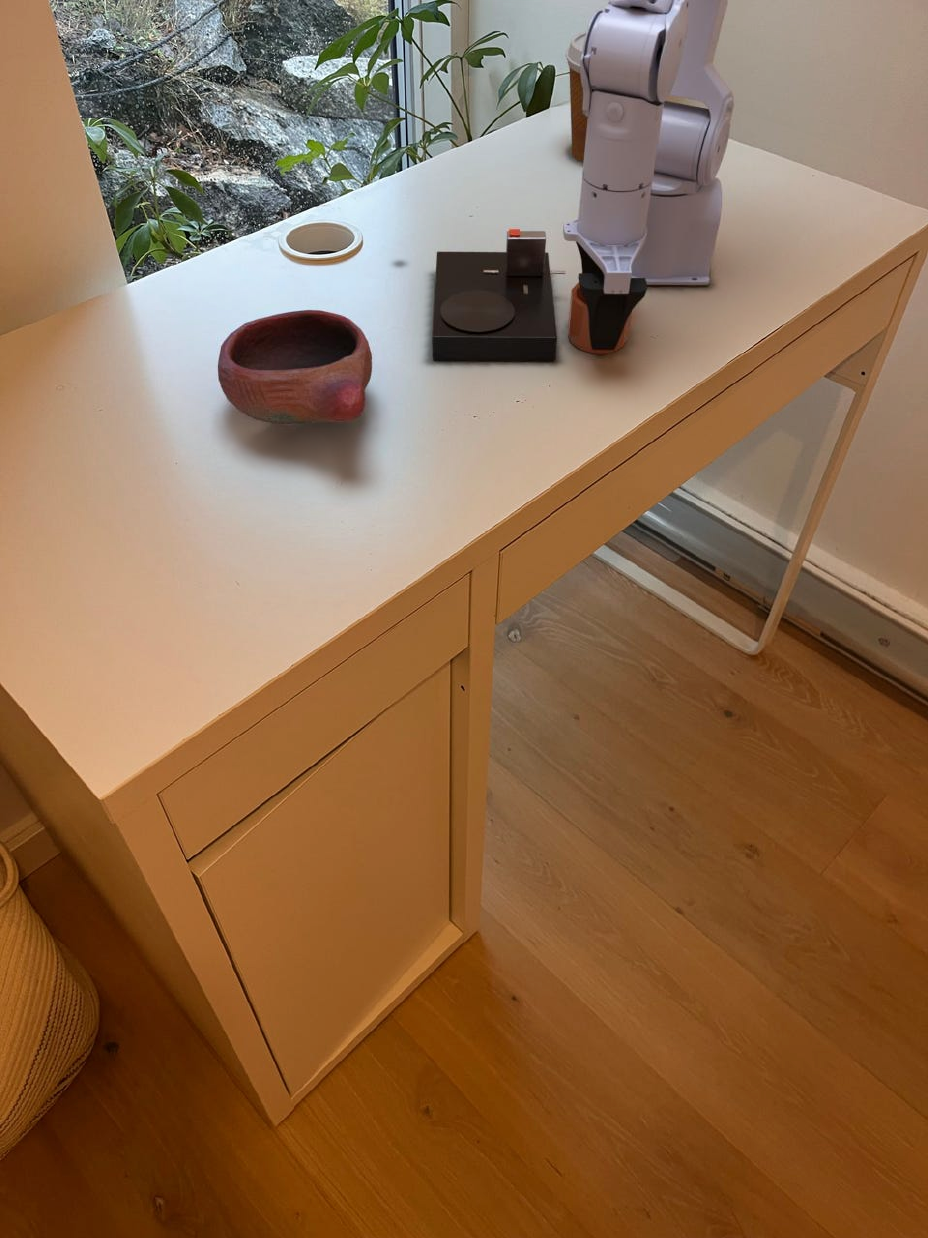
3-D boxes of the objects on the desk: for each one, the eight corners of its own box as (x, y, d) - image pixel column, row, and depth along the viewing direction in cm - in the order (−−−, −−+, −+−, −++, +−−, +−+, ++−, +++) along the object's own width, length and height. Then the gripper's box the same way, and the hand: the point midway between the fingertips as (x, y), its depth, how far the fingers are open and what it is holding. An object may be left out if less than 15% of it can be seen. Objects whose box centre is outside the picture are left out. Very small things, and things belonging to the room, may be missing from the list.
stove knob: (542, 268, 93) (545, 228, 90) (543, 276, 93) (546, 235, 90) (505, 268, 93) (507, 228, 90) (505, 275, 93) (507, 235, 89)
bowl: (194, 426, 81) (173, 343, 75) (285, 350, 89) (272, 268, 83) (356, 489, 76) (347, 405, 70) (437, 402, 84) (436, 319, 78)
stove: (560, 275, 98) (562, 250, 96) (570, 361, 88) (572, 336, 86) (437, 274, 98) (436, 249, 96) (432, 360, 88) (432, 334, 86)
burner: (513, 292, 91) (514, 290, 91) (515, 333, 86) (515, 331, 86) (441, 292, 91) (441, 290, 91) (439, 332, 86) (439, 330, 86)
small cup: (624, 321, 92) (630, 277, 89) (630, 354, 88) (636, 310, 85) (565, 321, 92) (570, 277, 89) (569, 354, 88) (574, 310, 85)
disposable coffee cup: (554, 168, 113) (562, 55, 104) (562, 133, 120) (571, 24, 111) (636, 174, 112) (652, 61, 103) (640, 139, 119) (655, 30, 110)
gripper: (563, 137, 84) (551, 282, 94) (574, 218, 74) (560, 369, 84) (644, 137, 84) (624, 282, 94) (666, 219, 74) (641, 370, 84)
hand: (599, 324), depth 89 cm, fingers open, 7 cm apart
